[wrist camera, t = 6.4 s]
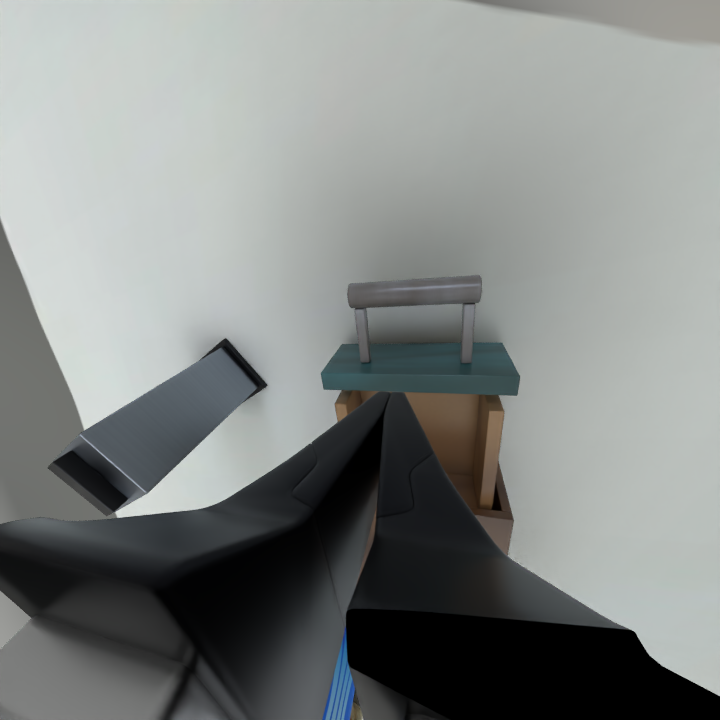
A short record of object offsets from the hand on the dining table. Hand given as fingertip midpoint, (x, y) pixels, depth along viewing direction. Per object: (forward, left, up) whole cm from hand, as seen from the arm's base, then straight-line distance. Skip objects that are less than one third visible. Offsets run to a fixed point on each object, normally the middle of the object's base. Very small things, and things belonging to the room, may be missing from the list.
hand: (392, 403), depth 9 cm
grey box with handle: (-14, +12, -12) cm, 22 cm away
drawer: (-5, -3, -11) cm, 13 cm away
